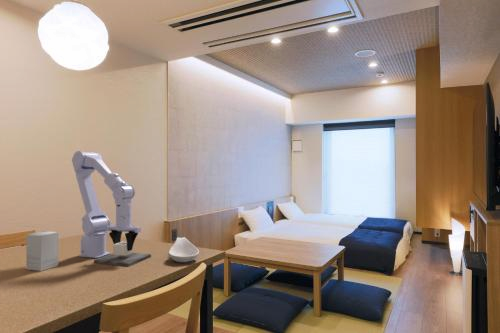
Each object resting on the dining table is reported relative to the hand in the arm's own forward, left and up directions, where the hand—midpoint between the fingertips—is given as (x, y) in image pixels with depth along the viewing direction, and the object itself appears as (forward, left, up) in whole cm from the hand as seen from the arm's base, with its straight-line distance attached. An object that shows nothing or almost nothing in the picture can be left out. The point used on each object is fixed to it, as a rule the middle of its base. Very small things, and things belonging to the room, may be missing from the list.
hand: (123, 249), depth 132 cm
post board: (0, 0, -4) cm, 4 cm away
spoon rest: (+20, +11, -4) cm, 23 cm away
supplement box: (-21, -18, -4) cm, 28 cm away
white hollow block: (0, 0, -1) cm, 1 cm away
